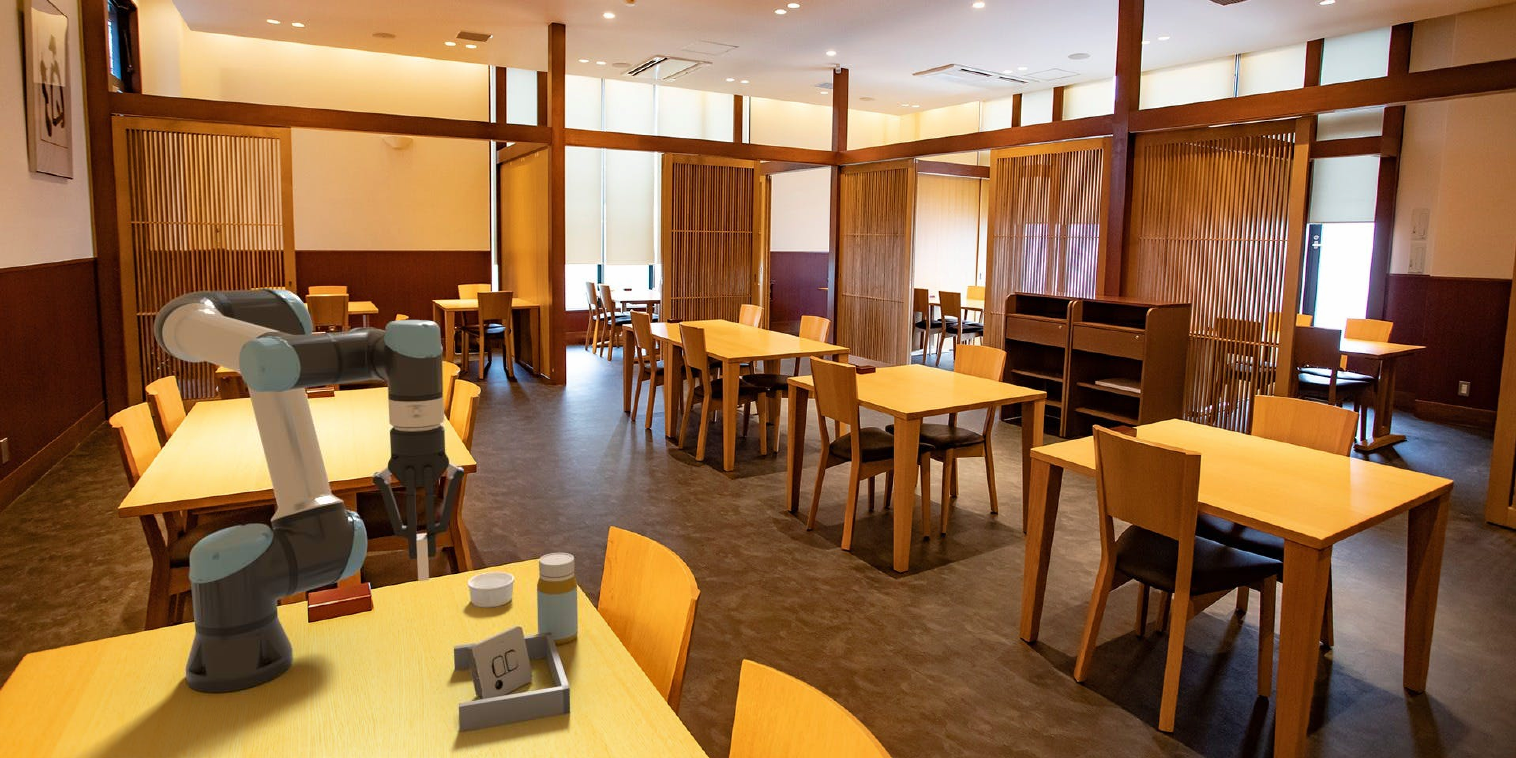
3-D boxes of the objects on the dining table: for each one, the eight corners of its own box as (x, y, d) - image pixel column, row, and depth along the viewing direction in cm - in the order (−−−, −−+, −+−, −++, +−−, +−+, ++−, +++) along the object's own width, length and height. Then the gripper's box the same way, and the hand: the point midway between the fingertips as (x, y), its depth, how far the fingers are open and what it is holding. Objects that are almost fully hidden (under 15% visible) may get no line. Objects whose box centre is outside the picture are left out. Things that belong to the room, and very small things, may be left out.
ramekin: (460, 607, 168) (459, 586, 168) (481, 589, 177) (480, 569, 176) (502, 611, 167) (501, 590, 166) (522, 593, 175) (521, 573, 175)
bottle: (585, 635, 157) (584, 557, 155) (557, 649, 151) (556, 569, 149) (558, 625, 161) (556, 549, 159) (530, 639, 155) (528, 560, 153)
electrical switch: (487, 705, 133) (481, 648, 132) (466, 698, 136) (460, 642, 135) (534, 681, 141) (529, 626, 140) (513, 675, 144) (508, 621, 143)
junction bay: (454, 668, 144) (453, 646, 143) (551, 653, 150) (551, 632, 149) (459, 732, 126) (458, 706, 125) (570, 712, 132) (569, 688, 131)
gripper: (367, 433, 121) (375, 592, 125) (465, 428, 126) (470, 581, 129) (370, 422, 128) (377, 573, 132) (462, 418, 132) (467, 563, 136)
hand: (423, 577), depth 130 cm, fingers closed
